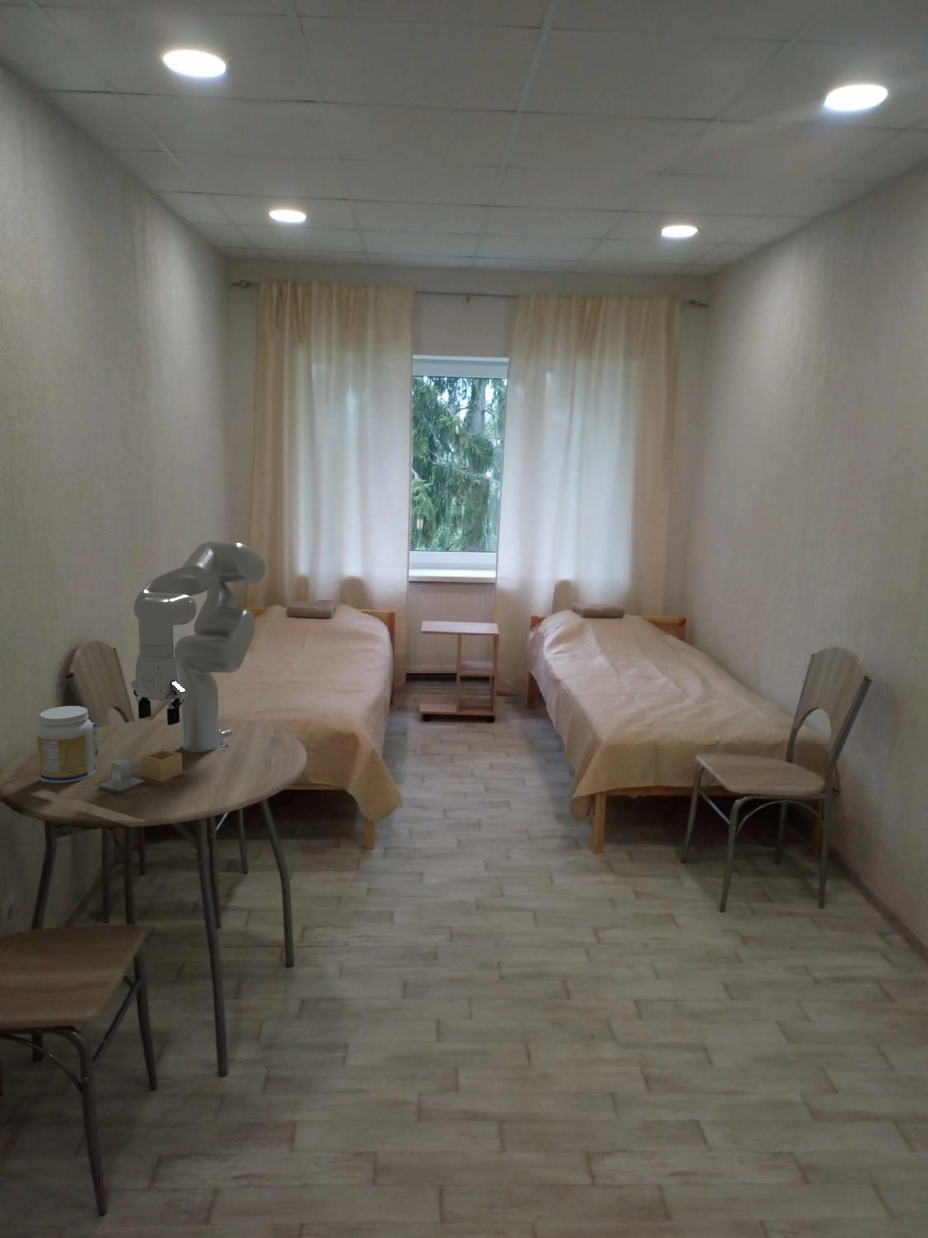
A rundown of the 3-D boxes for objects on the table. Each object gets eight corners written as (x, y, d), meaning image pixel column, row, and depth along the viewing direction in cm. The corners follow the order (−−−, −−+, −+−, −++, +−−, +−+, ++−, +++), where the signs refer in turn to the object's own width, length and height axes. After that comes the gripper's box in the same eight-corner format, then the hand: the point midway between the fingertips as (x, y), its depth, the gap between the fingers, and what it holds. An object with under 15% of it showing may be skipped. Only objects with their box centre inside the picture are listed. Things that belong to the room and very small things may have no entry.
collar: (163, 768, 204) (163, 749, 203) (182, 773, 201) (181, 753, 200) (142, 776, 198) (141, 756, 197) (161, 781, 195) (160, 761, 194)
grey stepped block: (124, 778, 196) (123, 754, 195) (145, 784, 193) (144, 760, 192) (98, 788, 190) (97, 763, 189) (120, 794, 187) (118, 769, 186)
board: (153, 767, 208) (153, 761, 208) (193, 778, 202) (193, 772, 201) (84, 793, 191) (83, 787, 191) (125, 806, 184) (125, 800, 184)
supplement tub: (58, 769, 206) (53, 703, 203) (105, 771, 205) (101, 705, 202) (29, 787, 194) (24, 718, 191) (80, 789, 193) (75, 720, 190)
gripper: (118, 648, 195) (121, 718, 197) (170, 657, 186) (172, 730, 189) (144, 643, 201) (146, 711, 204) (195, 651, 193) (197, 722, 196)
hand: (159, 720), depth 196 cm, fingers open, 9 cm apart
